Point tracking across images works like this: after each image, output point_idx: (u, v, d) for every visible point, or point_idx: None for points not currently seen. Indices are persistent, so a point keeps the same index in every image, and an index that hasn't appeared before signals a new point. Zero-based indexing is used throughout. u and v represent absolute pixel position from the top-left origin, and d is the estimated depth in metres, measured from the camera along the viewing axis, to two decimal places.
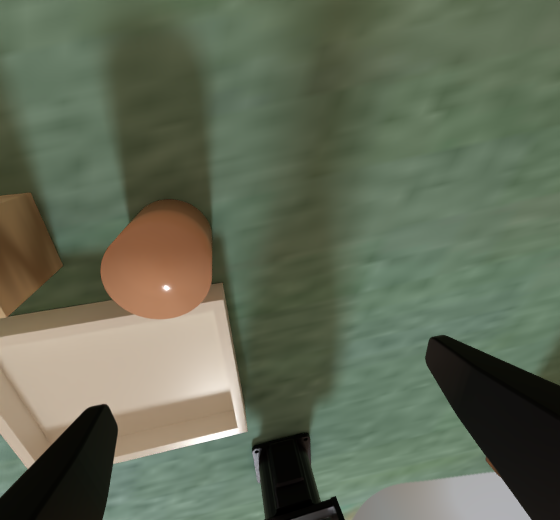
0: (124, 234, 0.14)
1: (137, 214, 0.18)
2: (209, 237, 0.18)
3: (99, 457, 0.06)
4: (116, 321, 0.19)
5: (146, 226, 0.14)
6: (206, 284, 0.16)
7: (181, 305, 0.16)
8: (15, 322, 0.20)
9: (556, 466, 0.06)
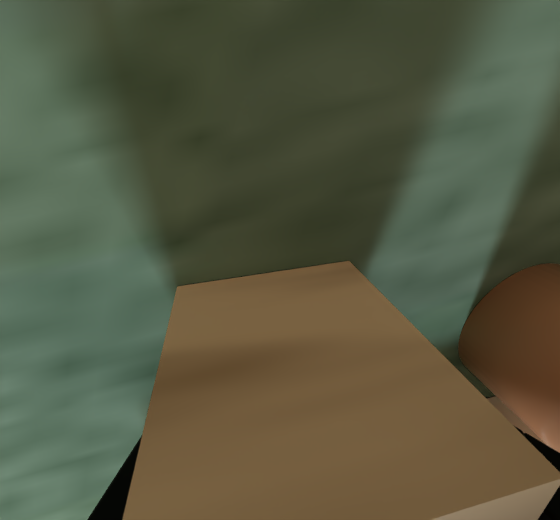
0: None
1: (543, 302, 0.09)
2: None
3: None
4: None
5: None
6: None
7: None
8: None
9: None
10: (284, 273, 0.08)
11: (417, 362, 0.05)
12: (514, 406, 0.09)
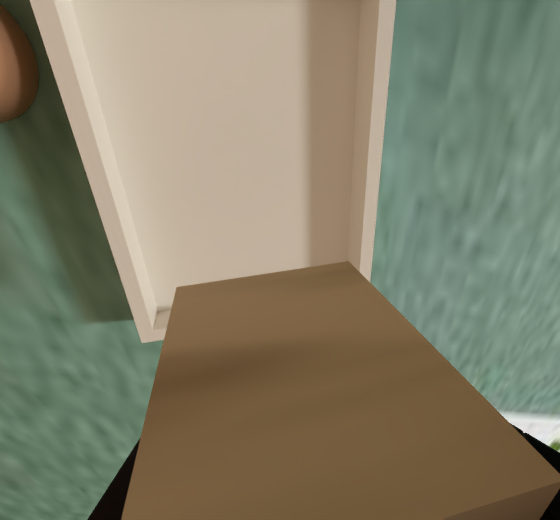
0: None
1: None
2: None
3: None
4: (88, 158, 0.13)
5: None
6: None
7: None
8: None
9: None
10: (284, 274, 0.08)
11: (417, 363, 0.05)
12: None
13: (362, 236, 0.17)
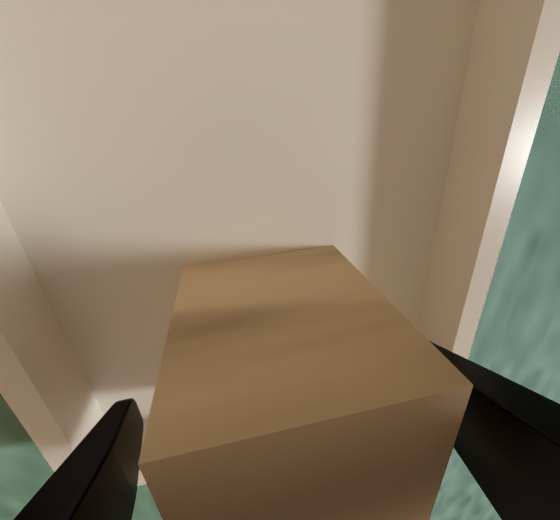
0: None
1: None
2: None
3: (129, 450, 0.06)
4: None
5: None
6: None
7: None
8: None
9: (529, 474, 0.05)
10: (276, 255, 0.09)
11: (379, 317, 0.06)
12: None
13: (462, 312, 0.10)
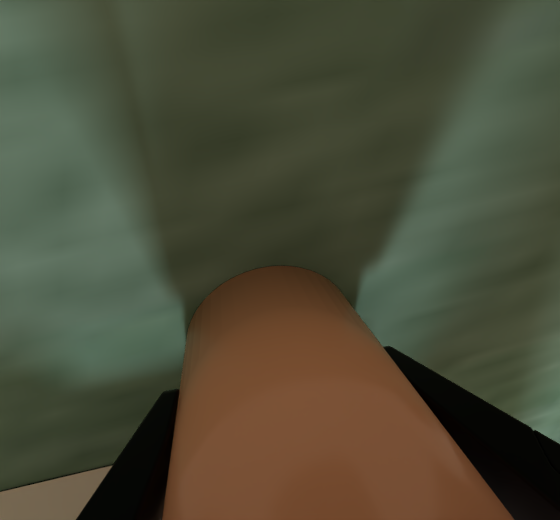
0: None
1: (216, 318, 0.07)
2: None
3: None
4: None
5: None
6: None
7: None
8: None
9: None
10: None
11: None
12: None
13: None
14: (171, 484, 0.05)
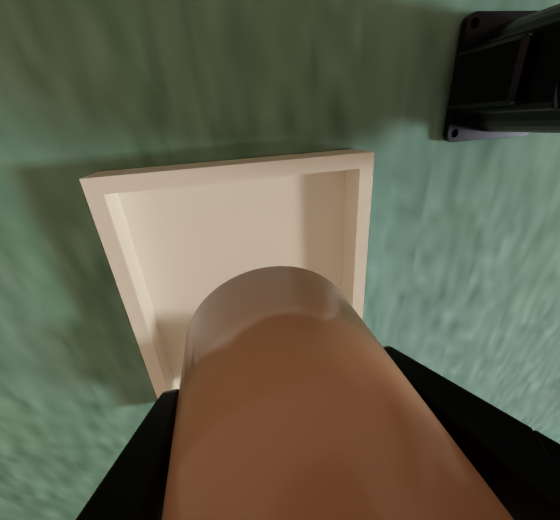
0: None
1: (216, 319, 0.07)
2: None
3: None
4: (131, 308, 0.16)
5: None
6: None
7: None
8: None
9: None
10: None
11: None
12: None
13: None
14: (170, 486, 0.04)
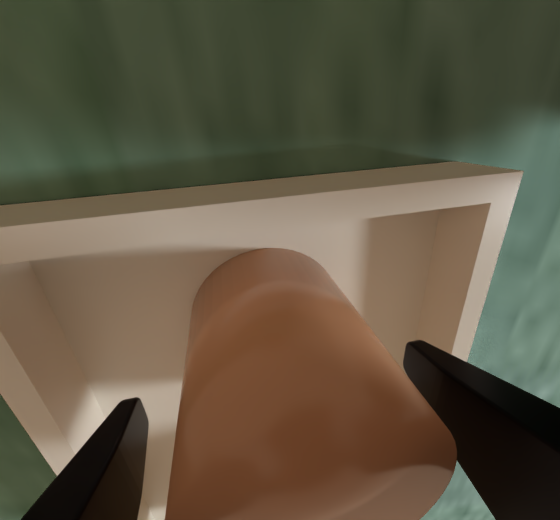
0: (254, 434, 0.04)
1: (218, 289, 0.08)
2: None
3: (135, 449, 0.06)
4: (56, 456, 0.09)
5: (325, 405, 0.04)
6: (427, 502, 0.06)
7: None
8: None
9: (523, 476, 0.05)
10: None
11: None
12: None
13: None
14: (182, 409, 0.06)
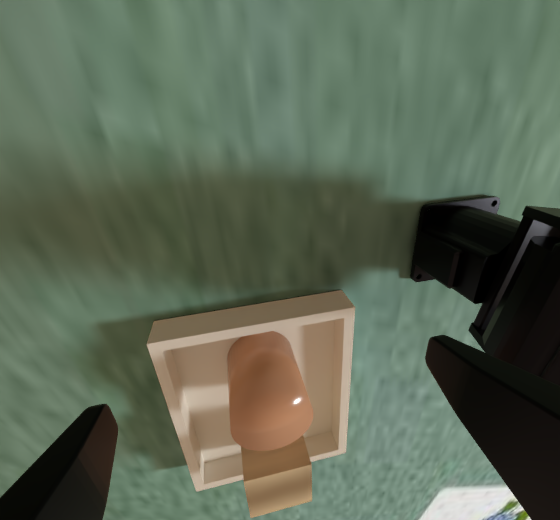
0: (253, 399, 0.17)
1: (240, 351, 0.21)
2: None
3: (99, 457, 0.06)
4: (175, 415, 0.22)
5: (270, 392, 0.17)
6: (307, 424, 0.19)
7: (285, 439, 0.19)
8: None
9: (556, 466, 0.06)
10: None
11: (297, 440, 0.23)
12: None
13: (339, 421, 0.26)
14: (232, 394, 0.19)
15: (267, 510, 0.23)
